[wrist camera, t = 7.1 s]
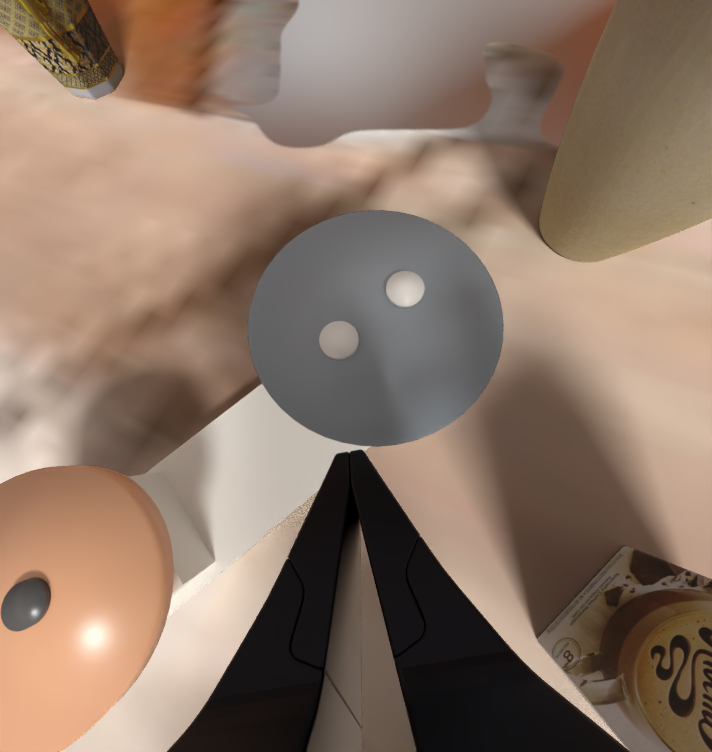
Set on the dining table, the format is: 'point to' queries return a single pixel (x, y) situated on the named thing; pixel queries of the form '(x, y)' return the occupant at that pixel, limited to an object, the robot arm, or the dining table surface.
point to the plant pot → (636, 135)
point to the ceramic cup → (65, 43)
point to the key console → (234, 486)
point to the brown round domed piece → (76, 599)
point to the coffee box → (641, 652)
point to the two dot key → (375, 328)
